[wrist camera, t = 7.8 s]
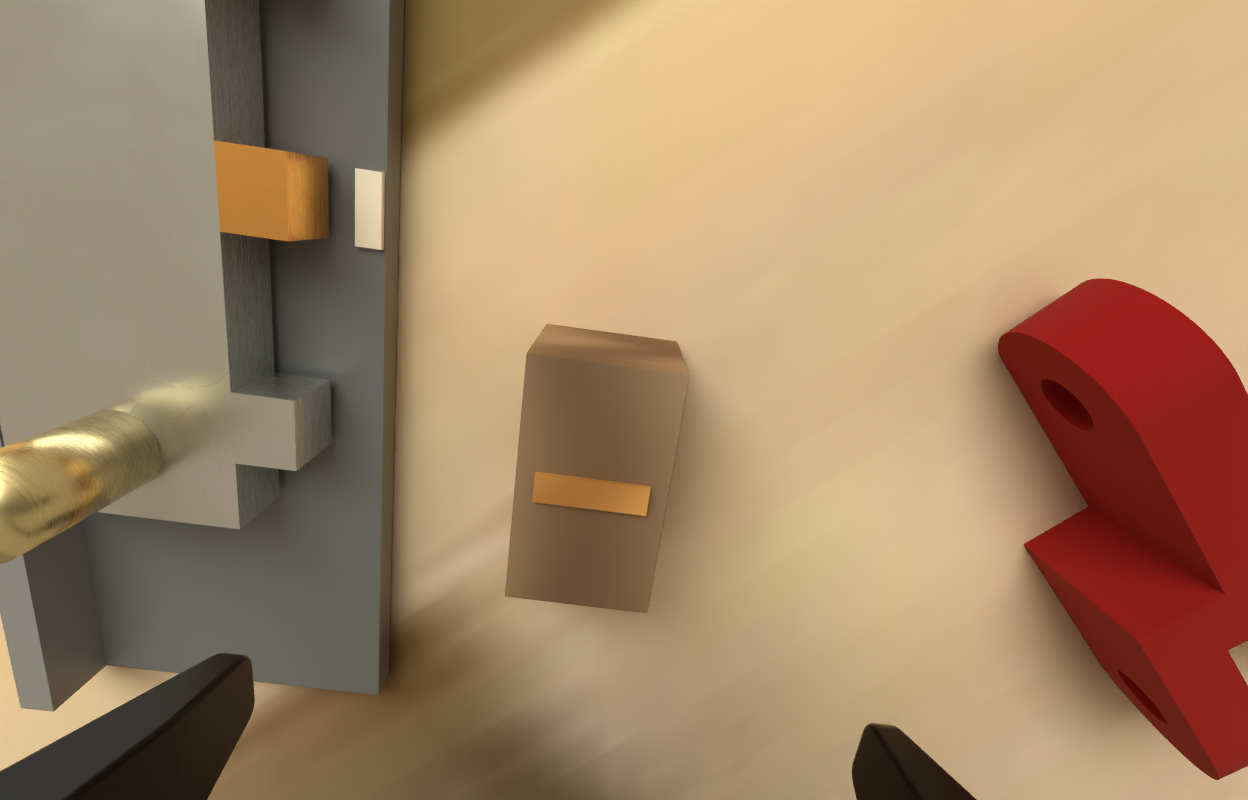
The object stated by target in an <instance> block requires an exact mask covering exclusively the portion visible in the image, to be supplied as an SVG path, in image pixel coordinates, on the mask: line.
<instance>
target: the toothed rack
mask: <svg viewBox="0 0 1248 800" xmlns="http://www.w3.org/2000/svg"><path fill="white" fill-rule="evenodd" d="M321 238H329V198H328V158H323V157H317V156H311V155H306V154H300V153H294V152H288V151H282V150H275V149H269V148H265V133H264V109H263V86H262V62H261V38H260V15H259V0H0V425H1V430H2V435H3V440H4V446H5V447H2V448H0V564H4V563H7V562H10V561H12V560H14V559H16V558H17V557H19V556H21V555H23V554H24V553H26V552H28V551H30V550H31V549H33V548H35V547H37V546H38V545H40V544H42V543H44V542H45V541H47V540H49V539H51V538H52V537H54V536H56V535H58V534H59V533H61V532H63V531H65V530H66V529H68V528H70V527H72V526H73V525H75V524H77V523H78V522H80V521H82V520H84V519H85V518H87V517H89V516H91V515H92V514H94V513H96V512H100V513H108V514H117V515H125V516H133V517H142V518H150V519H158V520H167V521H175V522H183V523H191V524H200V525H208V526H216V527H225V528H233V529H241V528H242V527H243V526H244V525H246V524H247V523H248V522H249V521H250V520H252V519H253V518H254V517H255V516H256V515H258V514H259V513H260V512H261V511H262V510H264V509H265V508H266V507H267V506H268V505H270V504H271V503H272V502H273V501H274V500H276V499H277V498H278V497H279V496H280V488H279V469H283V470H291V471H297V470H298V469H300V468H301V467H302V466H303V465H305V464H306V463H307V462H308V461H310V460H311V459H312V458H313V457H315V456H316V455H317V454H318V453H320V452H321V451H322V450H323V449H325V448H326V447H327V446H328V445H330V444H331V443H332V442H331V379H323V378H316V377H308V376H301V375H293V374H285V373H278V372H275V369H274V346H273V322H272V298H271V275H270V251H269V239H275V240H282V241H299V240H310V239H321Z"/></svg>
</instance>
